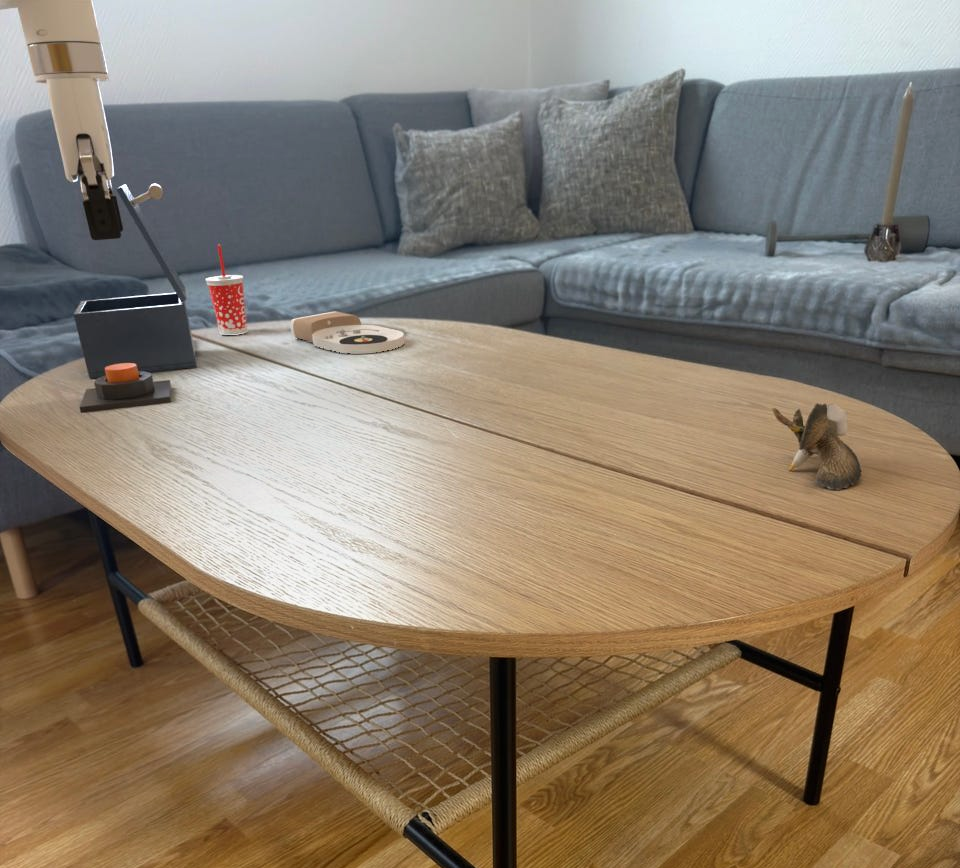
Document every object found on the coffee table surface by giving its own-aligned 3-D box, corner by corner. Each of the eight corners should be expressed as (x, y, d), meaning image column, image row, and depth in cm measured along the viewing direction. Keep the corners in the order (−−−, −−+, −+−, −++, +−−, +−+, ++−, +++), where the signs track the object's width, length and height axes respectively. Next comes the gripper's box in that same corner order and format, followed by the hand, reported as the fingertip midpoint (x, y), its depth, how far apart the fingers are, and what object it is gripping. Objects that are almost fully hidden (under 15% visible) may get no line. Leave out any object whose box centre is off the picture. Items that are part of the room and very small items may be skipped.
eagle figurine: (746, 446, 81) (779, 460, 72) (792, 378, 79) (831, 383, 70) (811, 487, 82) (852, 505, 73) (858, 421, 80) (905, 432, 72)
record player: (344, 309, 145) (418, 324, 132) (346, 328, 147) (419, 345, 133) (283, 320, 139) (354, 337, 125) (286, 340, 140) (356, 359, 127)
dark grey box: (89, 379, 122) (73, 314, 118) (96, 360, 133) (81, 300, 128) (196, 367, 126) (184, 304, 121) (194, 350, 136) (183, 292, 132)
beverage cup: (237, 337, 144) (222, 247, 138) (207, 336, 146) (191, 247, 140) (259, 330, 149) (245, 242, 143) (230, 329, 151) (215, 242, 145)
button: (107, 386, 102) (103, 371, 101) (109, 379, 105) (105, 365, 105) (139, 382, 103) (135, 367, 102) (140, 376, 106) (136, 361, 105)
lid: (115, 189, 113) (151, 172, 113) (120, 186, 124) (153, 170, 124) (181, 302, 121) (214, 285, 122) (180, 290, 132) (210, 275, 132)
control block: (84, 425, 101) (75, 391, 99) (90, 406, 109) (82, 374, 107) (173, 414, 103) (166, 381, 101) (173, 397, 111) (166, 365, 109)
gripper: (40, 73, 101) (79, 232, 109) (22, 59, 86) (69, 244, 94) (108, 71, 103) (142, 228, 111) (102, 57, 88) (141, 239, 96)
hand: (108, 235), depth 102 cm, fingers open, 9 cm apart
